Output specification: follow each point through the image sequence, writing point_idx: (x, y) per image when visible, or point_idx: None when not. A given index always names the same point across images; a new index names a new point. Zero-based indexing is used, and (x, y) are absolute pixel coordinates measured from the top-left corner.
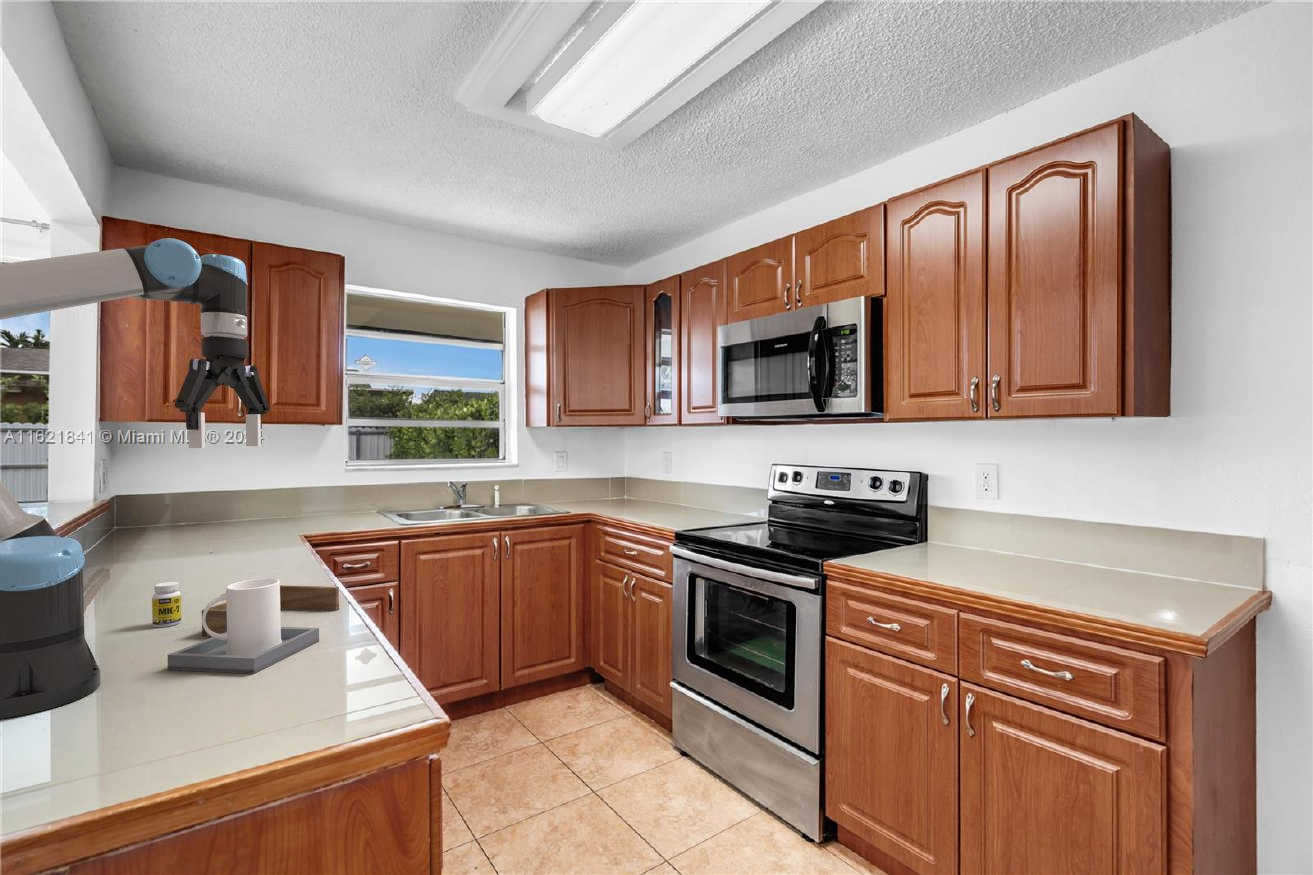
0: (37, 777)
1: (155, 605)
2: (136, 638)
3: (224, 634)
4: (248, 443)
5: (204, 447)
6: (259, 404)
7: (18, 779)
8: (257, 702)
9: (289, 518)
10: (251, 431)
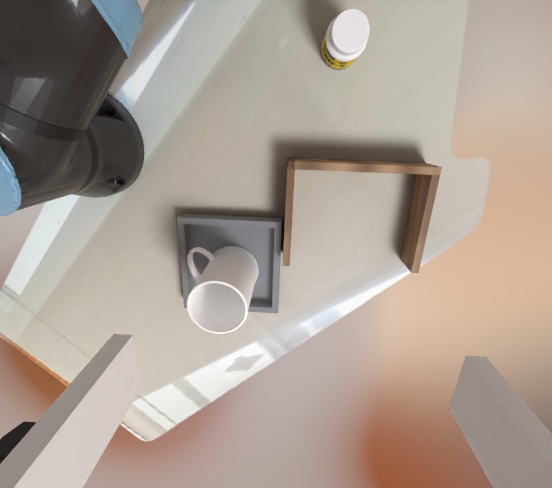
0: (18, 284)
1: (324, 38)
2: (272, 66)
3: (209, 259)
4: (471, 376)
5: (136, 388)
6: None
7: (12, 275)
8: (141, 337)
9: None
10: (506, 458)
